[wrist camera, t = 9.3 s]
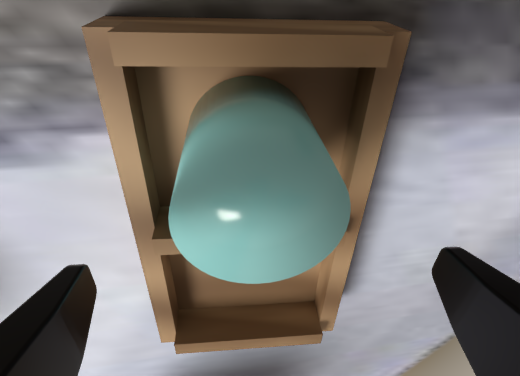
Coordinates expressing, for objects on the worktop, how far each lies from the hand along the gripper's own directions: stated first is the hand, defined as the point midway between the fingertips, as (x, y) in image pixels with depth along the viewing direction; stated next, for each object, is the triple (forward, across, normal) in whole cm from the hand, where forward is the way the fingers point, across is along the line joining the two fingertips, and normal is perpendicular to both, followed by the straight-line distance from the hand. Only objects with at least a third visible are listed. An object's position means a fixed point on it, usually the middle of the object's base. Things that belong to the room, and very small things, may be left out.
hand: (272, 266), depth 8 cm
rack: (+9, 0, +4) cm, 10 cm away
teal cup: (+8, 0, 0) cm, 8 cm away
